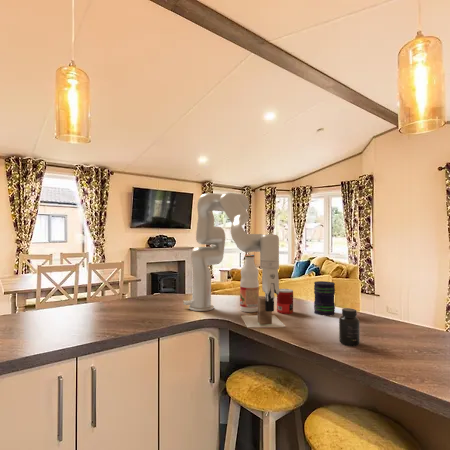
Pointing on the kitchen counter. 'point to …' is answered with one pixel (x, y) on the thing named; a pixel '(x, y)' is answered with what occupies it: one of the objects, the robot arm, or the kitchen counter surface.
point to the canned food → (285, 301)
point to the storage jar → (324, 298)
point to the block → (263, 313)
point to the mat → (253, 323)
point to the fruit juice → (249, 286)
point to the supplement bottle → (349, 328)
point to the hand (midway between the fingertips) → (269, 310)
